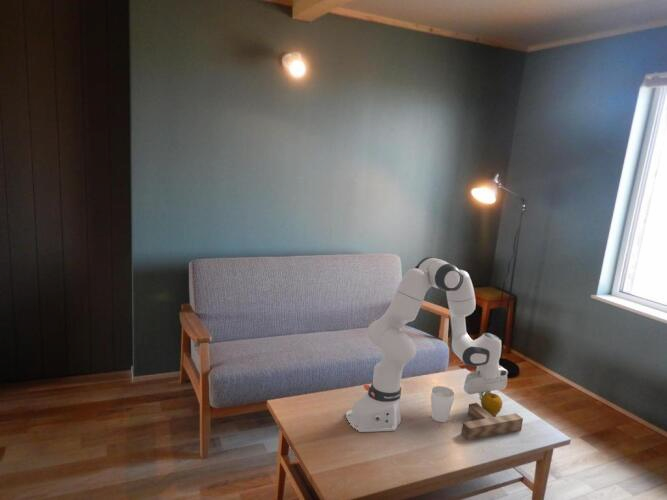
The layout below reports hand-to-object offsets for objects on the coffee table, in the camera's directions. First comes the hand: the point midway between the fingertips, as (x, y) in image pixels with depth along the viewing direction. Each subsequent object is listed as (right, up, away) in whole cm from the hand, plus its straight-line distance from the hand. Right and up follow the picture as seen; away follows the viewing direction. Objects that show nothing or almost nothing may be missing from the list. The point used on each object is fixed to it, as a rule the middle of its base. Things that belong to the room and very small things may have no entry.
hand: (483, 399), depth 199 cm
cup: (-21, -5, -9) cm, 24 cm away
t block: (-4, -6, -12) cm, 14 cm away
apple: (+2, -5, -4) cm, 6 cm away
